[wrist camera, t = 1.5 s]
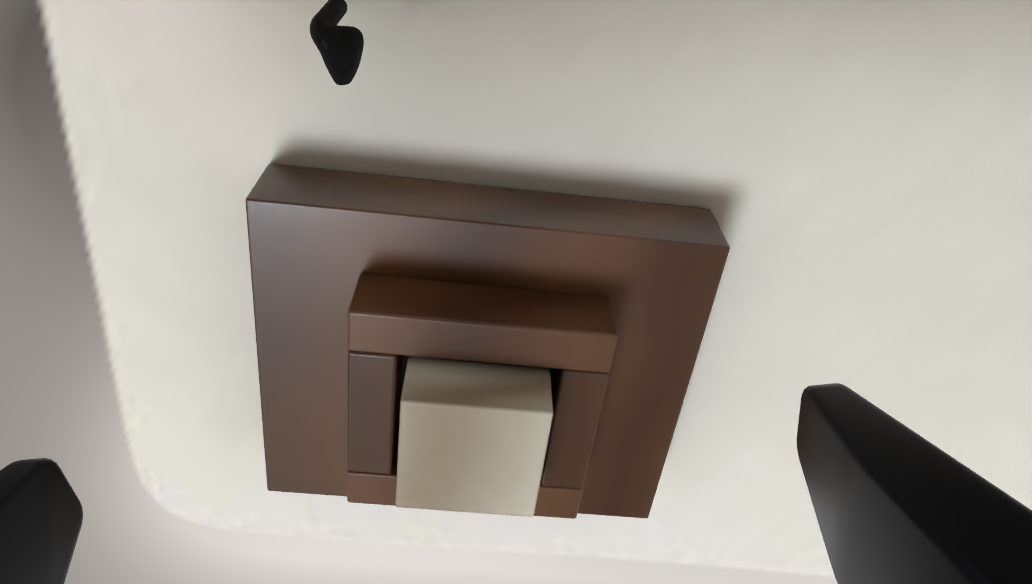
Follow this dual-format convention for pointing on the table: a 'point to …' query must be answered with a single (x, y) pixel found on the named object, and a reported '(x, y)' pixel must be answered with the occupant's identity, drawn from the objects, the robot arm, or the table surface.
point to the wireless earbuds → (337, 42)
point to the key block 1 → (473, 323)
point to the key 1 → (472, 436)
